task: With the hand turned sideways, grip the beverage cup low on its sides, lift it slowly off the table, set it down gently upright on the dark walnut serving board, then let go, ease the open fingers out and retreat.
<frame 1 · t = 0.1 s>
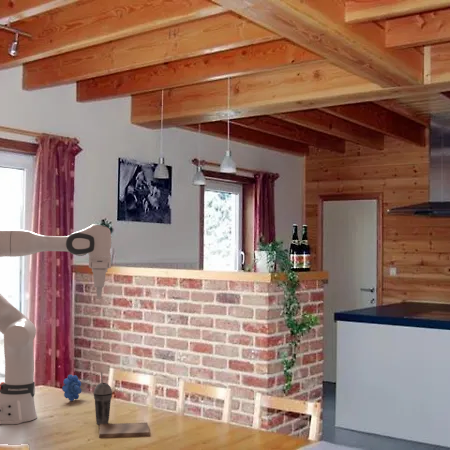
hand: (99, 297, 275), 48 cm above the table, tool pointing down, fingers open, 8 cm apart
beverage cup: (102, 423, 261), on the table
grapes: (73, 401, 299), on the table
walnut board: (124, 431, 250), on the table
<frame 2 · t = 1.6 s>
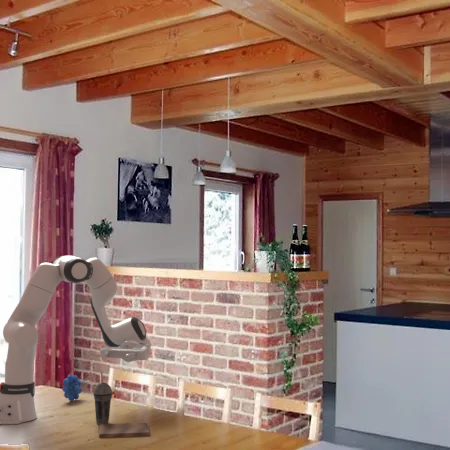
hand: (116, 356, 274), 24 cm above the table, tool horizontal, fingers open, 8 cm apart
nothing on the table moved.
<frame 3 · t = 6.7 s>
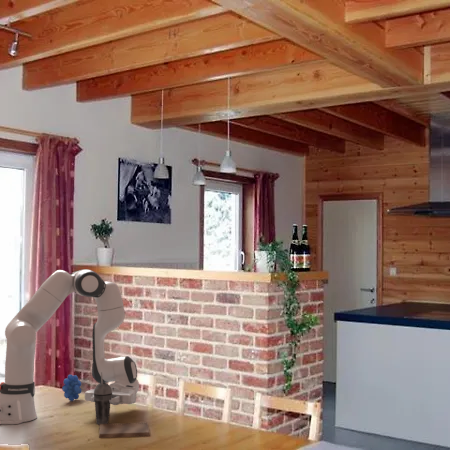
hand: (101, 400, 261), 9 cm above the table, tool horizontal, fingers closed on beverage cup, 6 cm apart
beverage cup: (102, 423, 261), on the table, touching gripper
everything else where it was.
when the fingers open (11 cm above the table, at t = 14.5 s): beverage cup moves 1 cm, resting on walnut board.
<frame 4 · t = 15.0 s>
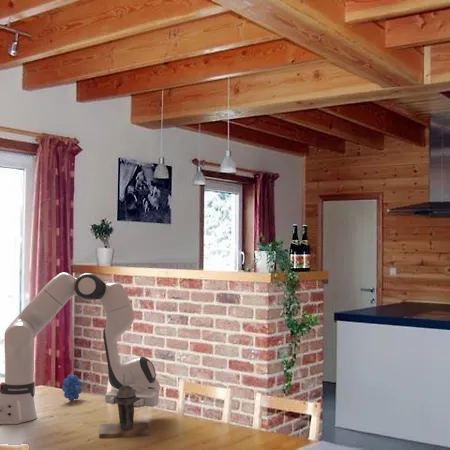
hand: (123, 403, 250), 11 cm above the table, tool horizontal, fingers open, 8 cm apart
beverage cup: (126, 428, 250), point 1 cm above the table, touching gripper, walnut board
everything else where it was.
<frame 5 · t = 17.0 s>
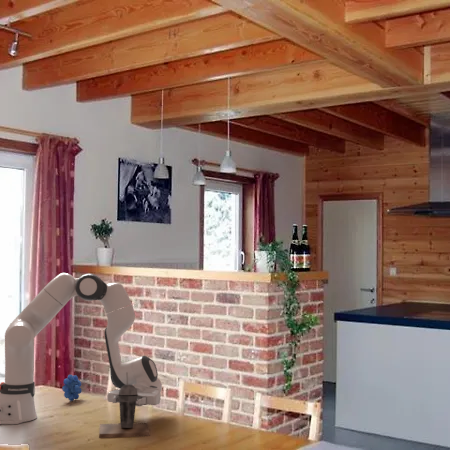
hand: (125, 401, 251), 11 cm above the table, tool horizontal, fingers open, 8 cm apart
beverage cup: (126, 427, 250), point 1 cm above the table, touching walnut board
everything else where it was.
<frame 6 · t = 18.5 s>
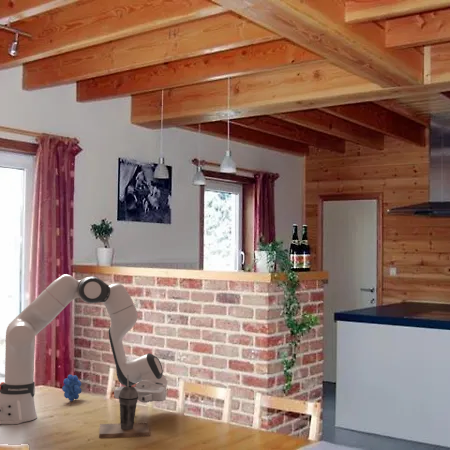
hand: (132, 398, 258), 11 cm above the table, tool horizontal, fingers open, 8 cm apart
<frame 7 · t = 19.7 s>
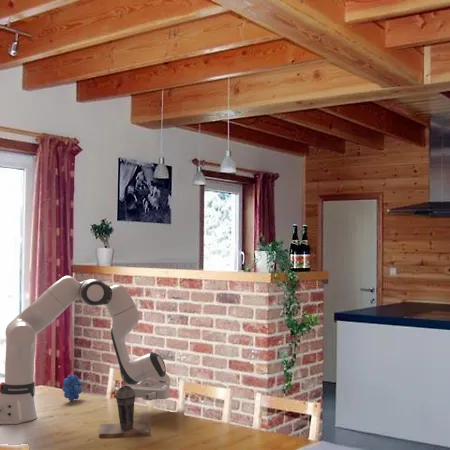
hand: (136, 395, 262), 11 cm above the table, tool horizontal, fingers open, 8 cm apart
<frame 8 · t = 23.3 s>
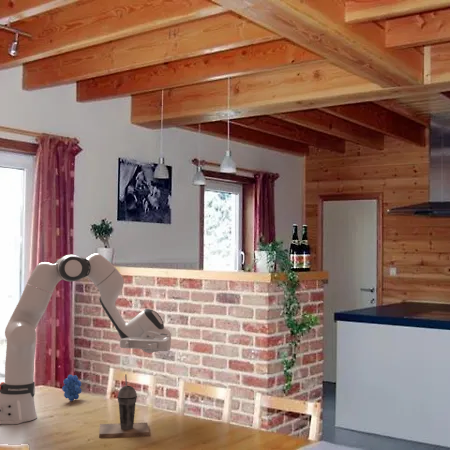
hand: (137, 346, 263), 30 cm above the table, tool horizontal, fingers open, 8 cm apart
at the end: beverage cup inside the target area on the walnut board (1.1 cm from its centre), point 1.1 cm above the walnut board's base; beverage cup tilted 0°; the gripper is holding nothing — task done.
